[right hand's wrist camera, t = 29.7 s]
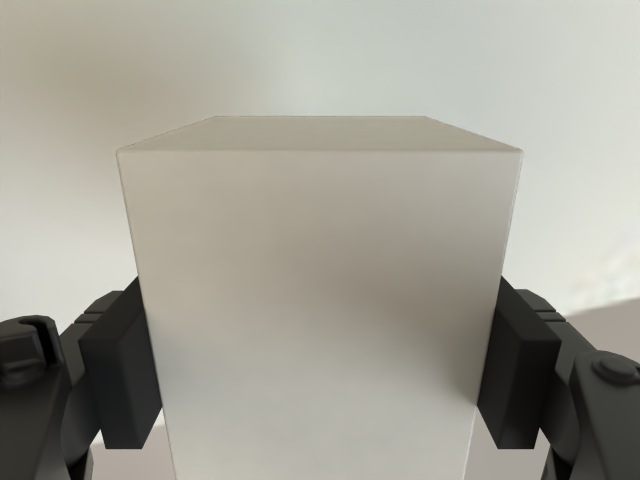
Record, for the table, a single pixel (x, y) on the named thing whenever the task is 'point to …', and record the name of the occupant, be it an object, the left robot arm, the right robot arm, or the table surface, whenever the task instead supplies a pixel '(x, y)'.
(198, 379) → the block
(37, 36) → the table surface
